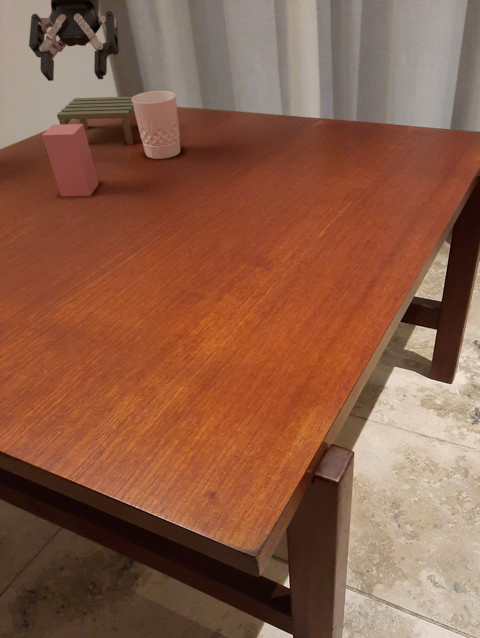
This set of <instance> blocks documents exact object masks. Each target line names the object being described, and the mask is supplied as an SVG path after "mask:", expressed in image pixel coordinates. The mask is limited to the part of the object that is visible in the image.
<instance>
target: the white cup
mask: <svg viewBox="0 0 480 638" xmlns="http://www.w3.org/2000/svg"><path fill="white" fill-rule="evenodd" d="M133 96H134V97H132V103H133V107H134V112H135V115H134V117H135V120H136V124H137V128H138V131H139V136H140V139H141V142H142V146H143V150H144V154H145V156H146V157H147V158H150V159H155V160H157V159H158V160H164V159H170V158H173V157H176V156H178V155H179V154H180V153H181V150H182V148H181V140H180V134H181V133H180V125H179V124H180V123H179V113H178V105H177V95H176V93H174V92H172V91H168V90H152V91H145V92H141V93H137V94H135V95H133Z"/></svg>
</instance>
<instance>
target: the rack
mask: <svg viewBox="0 0 480 638" xmlns="http://www.w3.org/2000/svg"><path fill="white" fill-rule="evenodd" d="M134 96H135V95H133V96H103V97H102V96H97V97H74V98H73V99H72V101H70V102H69V103H68V104H66V105H65V107H64V108H62V109H61V110H60V111H59V112H58V113H57V114H56V117H57V120H58V121H59V125H61V124H70V122H71V121H72V120H79V124H83V125H84V129H85V130H87V129H89V123H88V120H96V119H97V120H98V119H120V120H121V123H122V129H123V132H124V138H125V142H126V145H133V144H134V143H135V141H134V136H133V131H132V125H131V121H132V120H133V118H134V117H135V112H134V107H133V103H132V97H134Z"/></svg>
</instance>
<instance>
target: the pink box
mask: <svg viewBox="0 0 480 638" xmlns="http://www.w3.org/2000/svg"><path fill="white" fill-rule="evenodd" d="M41 136H42V140H43V143H44V146H45V149H46V152H47V155H48V159H49V162H50V165H51V166H50V167H51V168H52V172H53V175H54V178H55V182H56V185H57V189H58V191H59V194H60V197H91V196H92V194H93V193H94V192H95V190H96V189H97V188H98V186H99V179H98V176H97V173H96V168H95V165H94V161H93V157H92V153H91V150H90V145H89V141H88V138H87V133H86V129H84V125H83V124H80V123H68V124H61V125H60V124H52V125H51V126H50V127H49V128H48V129H47V130H46V131H44V133H43V134H41Z"/></svg>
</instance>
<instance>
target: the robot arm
mask: <svg viewBox="0 0 480 638" xmlns="http://www.w3.org/2000/svg"><path fill="white" fill-rule="evenodd" d="M50 8H51V12H50V15H48V17H40V16H39V14H37V13H33V14H32V15H31V18H30V26H29V27H30V28H29V39H28V40H29V41H28V46H29V48H30V49H31V51H32V52H33V53H34V55H35V56H36V57H37V58H40V67H39V68H40V72H41V74H42V75H43V76H44V77H45V78H46V80H47V81H49V82H53V81H54V78H55V76H54V73H55V60H54V58H55V57H56V56H57V54H58V53H61V52H63V50H64V49H65V47H66V46H67V47H75V46H81V47H86V46H87V44H91V46H92V48H94V60H93V61H94V62H93V63H94V64H93V65H94V66H93V67H94V68H93V70H94V74H95V75H94V76H96V77H97V79H98V80H104V76H106V75H107V72H108V66H107V65H108V64H107V63H108V58H109V56H111V55H113V56H117V55H118V54H119V53H120V45H119V43H120V42H119V25H118V21H117V19H116V17H115V15H114V13H113V11H111V10H107V11H106V12H105V14H104V15H100V0H50ZM102 26H103V28H104V30H105V34H106V35H105V36H106V41H105V42H104V43H103V42H102V41H101V40H100V39H99V38H98V36H97V35H96V34H97V33H98V31H99V30H100V29H101V27H102ZM49 28H50V29H49ZM57 38H59V39H57Z"/></svg>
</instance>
